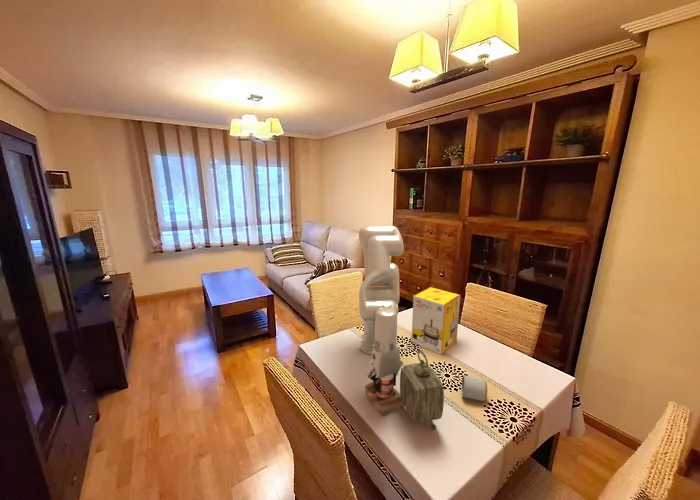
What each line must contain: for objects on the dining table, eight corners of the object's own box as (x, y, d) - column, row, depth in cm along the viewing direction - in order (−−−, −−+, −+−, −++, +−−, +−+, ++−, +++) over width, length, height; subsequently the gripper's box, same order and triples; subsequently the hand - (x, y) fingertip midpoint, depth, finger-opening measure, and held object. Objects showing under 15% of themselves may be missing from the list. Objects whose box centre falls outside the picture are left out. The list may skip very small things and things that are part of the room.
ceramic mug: (486, 406, 101) (488, 387, 99) (462, 401, 103) (464, 383, 101) (482, 386, 111) (484, 369, 109) (460, 383, 113) (461, 366, 111)
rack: (365, 395, 106) (365, 384, 105) (387, 386, 111) (387, 376, 110) (381, 416, 97) (382, 404, 96) (404, 405, 102) (405, 394, 100)
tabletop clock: (441, 433, 90) (446, 364, 84) (415, 438, 88) (418, 368, 83) (421, 400, 104) (424, 339, 98) (398, 404, 102) (400, 342, 96)
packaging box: (456, 341, 143) (460, 294, 137) (441, 354, 131) (444, 305, 126) (427, 330, 154) (430, 286, 148) (411, 341, 143) (413, 295, 137)
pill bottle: (382, 401, 99) (382, 373, 97) (373, 389, 105) (373, 363, 102) (396, 395, 102) (397, 368, 99) (387, 384, 107) (388, 358, 105)
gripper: (370, 355, 92) (370, 402, 96) (411, 341, 99) (410, 385, 104) (359, 344, 98) (359, 388, 102) (398, 331, 106) (397, 373, 110)
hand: (384, 386), depth 103 cm, fingers closed on pill bottle, 6 cm apart
